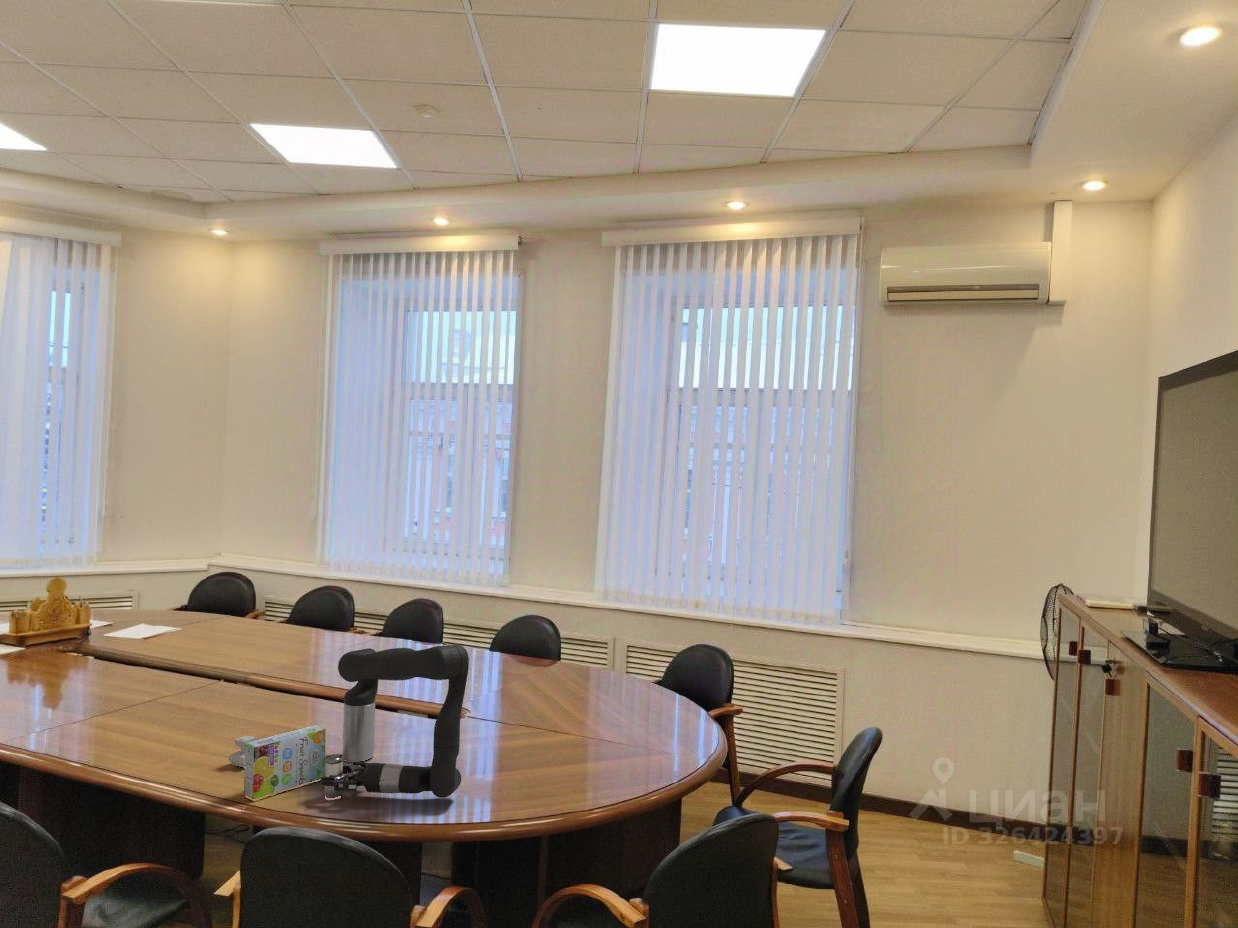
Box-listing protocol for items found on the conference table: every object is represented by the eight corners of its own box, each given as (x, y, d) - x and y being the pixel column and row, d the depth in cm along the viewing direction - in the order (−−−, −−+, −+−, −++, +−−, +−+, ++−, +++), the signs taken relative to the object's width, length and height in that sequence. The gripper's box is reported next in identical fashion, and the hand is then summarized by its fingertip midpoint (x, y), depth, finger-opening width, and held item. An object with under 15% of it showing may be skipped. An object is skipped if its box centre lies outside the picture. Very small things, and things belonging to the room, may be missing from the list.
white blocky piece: (265, 764, 245) (266, 736, 244) (246, 772, 238) (247, 743, 238) (243, 759, 248) (244, 731, 248) (224, 766, 242) (225, 738, 242)
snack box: (315, 775, 238) (316, 723, 238) (325, 780, 234) (327, 728, 234) (242, 797, 222) (244, 741, 222) (252, 803, 218) (254, 746, 218)
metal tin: (324, 794, 225) (325, 754, 225) (342, 793, 226) (343, 753, 226) (323, 801, 220) (325, 760, 220) (341, 799, 222) (343, 759, 221)
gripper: (395, 754, 229) (338, 751, 230) (377, 774, 215) (317, 771, 216) (394, 781, 229) (337, 778, 230) (376, 802, 215) (316, 799, 216)
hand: (327, 774), depth 223 cm, fingers open, 8 cm apart
